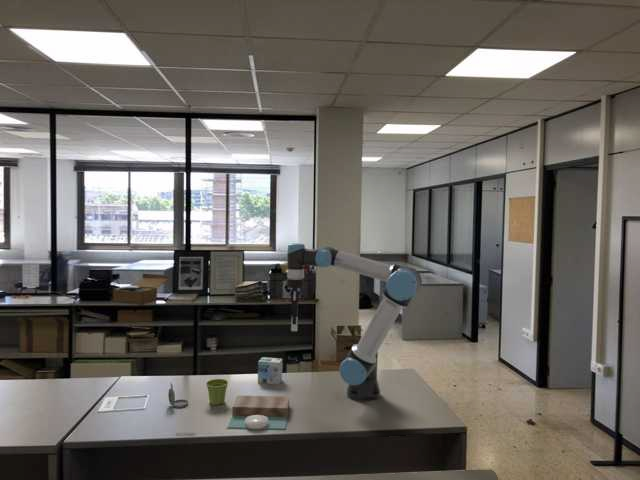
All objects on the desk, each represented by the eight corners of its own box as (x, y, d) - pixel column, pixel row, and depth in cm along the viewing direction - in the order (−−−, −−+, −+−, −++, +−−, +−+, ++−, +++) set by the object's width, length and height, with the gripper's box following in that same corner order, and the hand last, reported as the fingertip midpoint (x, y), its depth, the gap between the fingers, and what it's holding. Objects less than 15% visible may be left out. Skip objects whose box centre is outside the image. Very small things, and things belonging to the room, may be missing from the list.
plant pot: (223, 407, 202) (223, 387, 201) (202, 405, 204) (202, 385, 203) (231, 399, 211) (231, 379, 211) (211, 397, 213) (211, 378, 212)
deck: (289, 405, 206) (289, 396, 205) (287, 417, 194) (287, 408, 193) (237, 404, 205) (237, 395, 205) (232, 416, 194) (232, 406, 193)
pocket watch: (191, 403, 205) (191, 380, 205) (177, 410, 198) (178, 386, 197) (176, 400, 209) (176, 377, 208) (162, 406, 201) (162, 383, 201)
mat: (287, 417, 194) (287, 416, 194) (285, 429, 183) (285, 428, 183) (232, 416, 194) (232, 415, 193) (227, 428, 183) (227, 427, 183)
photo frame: (105, 397, 209) (149, 394, 213) (105, 399, 209) (149, 396, 213) (98, 410, 194) (145, 407, 199) (98, 413, 194) (145, 410, 199)
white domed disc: (269, 419, 191) (269, 415, 191) (267, 429, 182) (267, 425, 182) (246, 419, 191) (246, 414, 191) (243, 429, 182) (243, 424, 182)
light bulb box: (257, 382, 232) (257, 360, 231) (261, 378, 239) (261, 356, 238) (278, 384, 230) (279, 362, 230) (282, 380, 237) (282, 358, 236)
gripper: (287, 276, 221) (286, 327, 222) (286, 280, 208) (284, 334, 209) (304, 276, 221) (303, 327, 222) (303, 280, 208) (302, 334, 209)
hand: (294, 330), depth 216 cm, fingers closed
